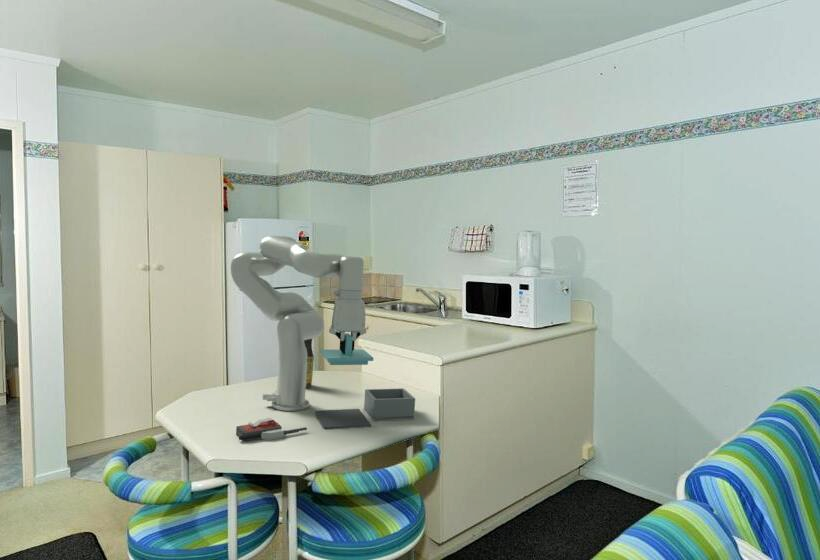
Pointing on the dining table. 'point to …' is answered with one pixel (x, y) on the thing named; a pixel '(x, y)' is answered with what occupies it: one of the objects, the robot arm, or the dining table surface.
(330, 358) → the lid
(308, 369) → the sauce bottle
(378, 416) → the tub
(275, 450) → the dining table surface
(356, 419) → the mat
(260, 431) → the walkie-talkie
